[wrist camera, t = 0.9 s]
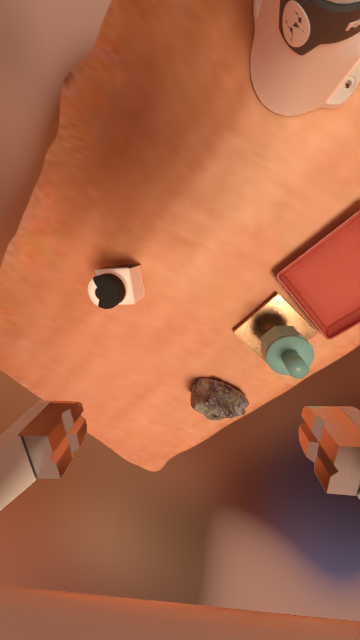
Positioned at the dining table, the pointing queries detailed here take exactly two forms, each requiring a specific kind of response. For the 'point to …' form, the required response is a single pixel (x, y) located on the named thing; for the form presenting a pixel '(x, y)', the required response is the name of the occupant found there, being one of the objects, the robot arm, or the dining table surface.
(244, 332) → the post
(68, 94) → the dining table surface
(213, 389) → the mineral rock
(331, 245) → the plant saucer
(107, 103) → the dining table surface
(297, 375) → the cap
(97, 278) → the medicine bottle
